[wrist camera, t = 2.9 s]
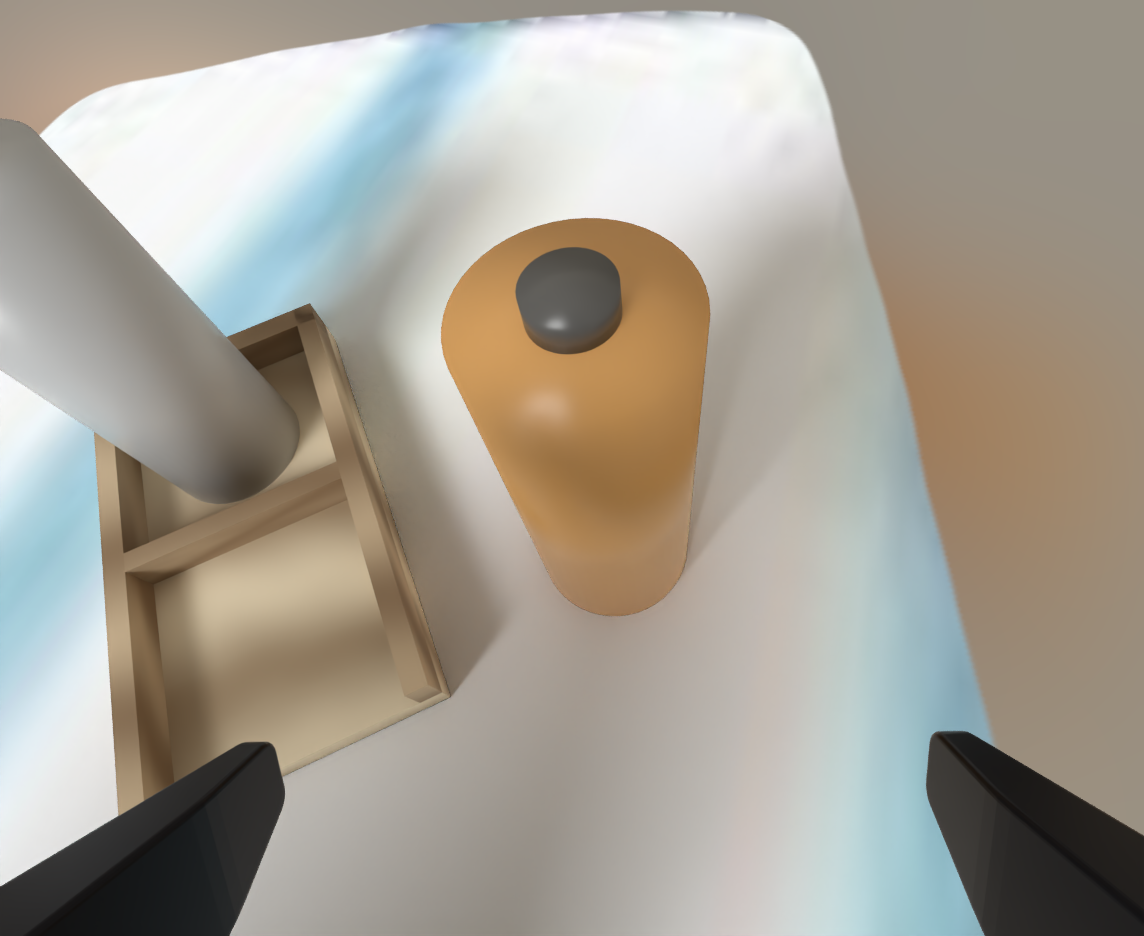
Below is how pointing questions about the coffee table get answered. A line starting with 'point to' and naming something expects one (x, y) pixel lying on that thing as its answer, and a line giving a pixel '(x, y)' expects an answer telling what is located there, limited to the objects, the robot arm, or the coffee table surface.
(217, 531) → the slot rack
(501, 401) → the orange bottle
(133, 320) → the grey bottle
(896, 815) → the coffee table surface
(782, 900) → the coffee table surface
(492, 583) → the coffee table surface
